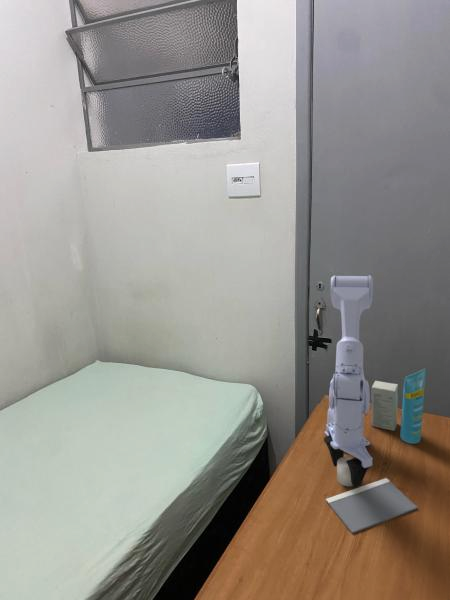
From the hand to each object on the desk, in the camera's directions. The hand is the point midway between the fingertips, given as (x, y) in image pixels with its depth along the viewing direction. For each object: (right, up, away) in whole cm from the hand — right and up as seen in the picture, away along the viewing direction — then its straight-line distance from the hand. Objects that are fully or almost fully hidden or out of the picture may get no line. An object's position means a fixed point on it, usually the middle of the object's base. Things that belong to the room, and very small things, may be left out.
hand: (347, 474), depth 94 cm
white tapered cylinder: (0, -1, 0) cm, 2 cm away
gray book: (+3, -3, -7) cm, 8 cm away
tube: (+21, +4, +13) cm, 25 cm away
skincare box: (+16, +5, +20) cm, 26 cm away
